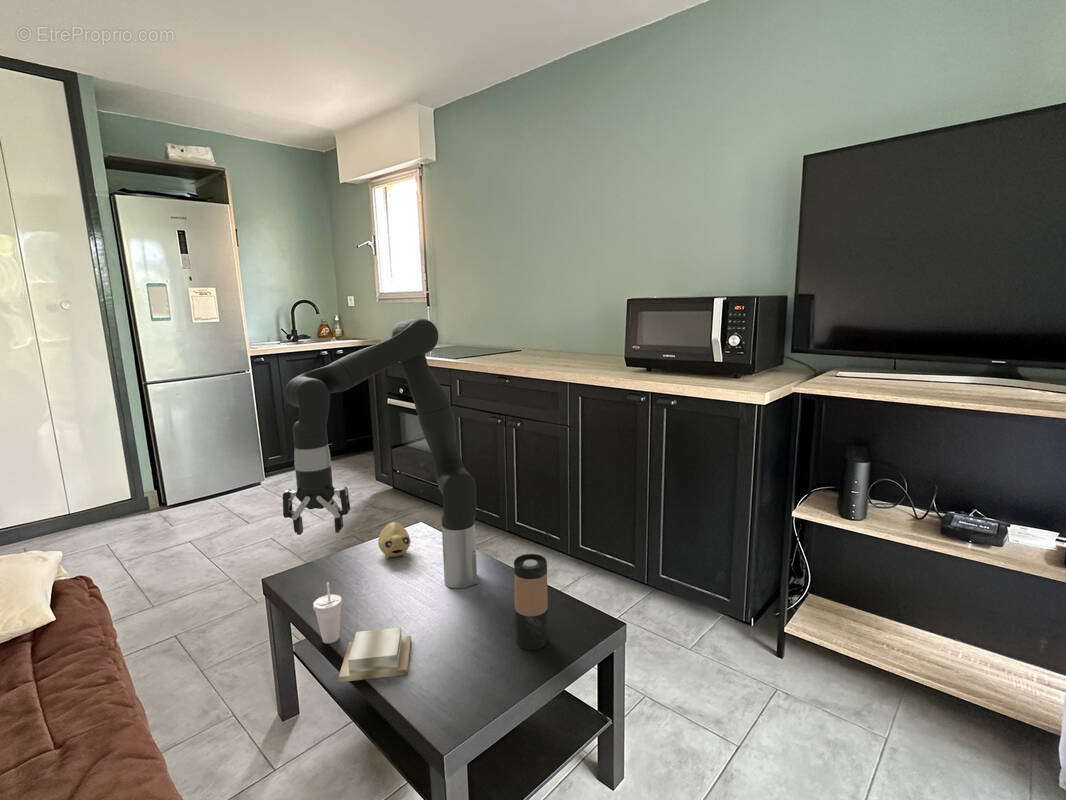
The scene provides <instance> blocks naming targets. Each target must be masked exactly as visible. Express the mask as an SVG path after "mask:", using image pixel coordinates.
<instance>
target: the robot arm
mask: <svg viewBox="0 0 1066 800" xmlns="http://www.w3.org/2000/svg"><path fill="white" fill-rule="evenodd" d="M438 342H439V331H438V328H437V326H436V325H435V324H434V323H433V322H432V321H430V320H429V319H425V318H420V317H419V318H412V319H406V320H401V321H399V322H397V323H395V324H394V327H393V328H392V331H391V337H390V338H389V339H386V340H384V341H381V342H378V343H377V344H373V345H371V346H368V347H365V348H361V349H359V350H356V351H354V352H352V353H349V354H347V355H344V356H343V357H341V358H339V359H337V360H335V361H333V362H331V363H330V364H327V365H325V366H322V367H320V368H316V369H313V370H309V371H307V372H303V373H301V374H300V375H297V376H295V377H293V378H292V379H291V380H289V382H288V383H287V384H286V385H285V388H284V392H283V393H284V394H283V395H284V398H285V400H286V402H288V404H289V405H291V406H293V407H295V408H297V409H298V421H296V422H294V424H293V426H292V427H293V429H292V435H293V444H294V454H293V455H294V456H293V457H294V458H293V460H294V462H293V464H294V470H295V482H296V487H297V488H296V490H291V489H290V488H288V489H286V490H285V491H284V492H283V493H282V513H283V514H282V515H283V518H285V519H286V518H289V519H292V524H293V531H294V533H296V535H297V536H301V535H302V534H303V532H304V526H303V525H304V523H303V517H302V516H301V514H302V513H303V512H304V510H305V509H308V510H314V509H317V510H318V509H319V510H322V509H325V510H327V512H330V513H331V514H332V515H333V516H334V520H333V521H334V532H335V534H338V533H340V532H341V530H342V529H343V528H344V517H343V516H347V515H348V514H349V512H350V510H351V504H350V497H349V489H348V487H347V486H343V487H342V488H335V486H334V485H333V483H334V482H333V473H332V472H333V471H332V462H331V461H332V460H331V452H330V448H329V440H328V438H329V436H328V429H327V425H328V424H327V423H328V419H329V412H330V405H331V397H330V394H333V393H342V392H345V391H348V390H350V389H351V388H353V387H355V386H357V385H358V384H361V383H362V382H364V381H366V380H368V379H370V378H372V377H374V376H376V374H379V373H381V372H382V371H384V370H386V369H388V368H391V367H393V366H394V365H396V364H399V363H400V365H401V368H402V370H403V372H404V375H405V378H406V381H407V384H408V388H409V390H410V393H411V397H412V400H413V403H414V407H415V411H416V414H417V418H418V420H419V421H418V422H419V425H420V428H421V430H422V433H423V435H424V439H425V441H426V443H427V446H428V447H429V451H430V453H431V457H432V459H433V466H434V470H435V475H436V482H437V486H438V489H439V492H440V493H441V494H442V501H443V502H442V504H443V510H442V511H443V513H442V515H441V518H440V519H441V537H442V539H441V540H442V555H443V557H442V558H443V559H442V560H443V577H444V580H443V581H444V584H445V585H446V586H447V587H448V588H451V589H466V588H469V587H471V586H474V585H478V564H477V548H476V523H475V521H476V516H477V485H476V481H475V479H474V477H473V476H472V475H471V474H470V473H469V472H468V471H467V469H466V468H465V465H464V463H463V461H462V458H461V455H460V452H459V449H458V446H457V431H456V430H457V429H456V428H457V427H456V420H455V415H454V412H453V408H452V405H451V401H450V398H449V396H448V394H447V392H446V391H445V389H444V388H443V387H442V384H440V383H439V381H438V380H437V378H436V376H435V375H434V374H433V372H432V371H431V369H430V366H429V364H428V359H427V357H426V354H428V353H429V352H432V351H433V350H434V349H435V347H436V346H437V344H438ZM335 495H336V496H337V498H338V499H340V504H341V505H340V506H341V507H340V506H339V505H338V503H337V502H336V500H335V499H334V496H335ZM295 498H296V499H298V501H299V502H300V504H299V505H298V507H297V508H296V510H293V500H294V499H295Z"/></svg>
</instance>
